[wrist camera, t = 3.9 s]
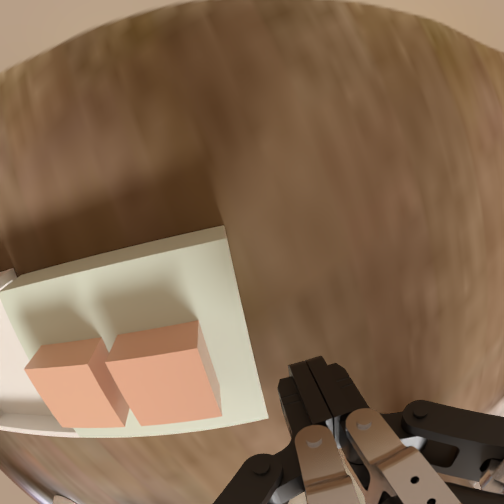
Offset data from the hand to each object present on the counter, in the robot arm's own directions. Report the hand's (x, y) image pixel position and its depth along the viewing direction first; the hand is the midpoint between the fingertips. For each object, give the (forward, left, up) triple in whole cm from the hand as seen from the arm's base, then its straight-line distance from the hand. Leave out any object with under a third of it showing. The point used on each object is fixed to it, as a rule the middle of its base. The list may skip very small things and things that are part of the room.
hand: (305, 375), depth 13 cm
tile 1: (+6, 0, -3) cm, 7 cm away
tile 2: (+12, 0, -3) cm, 13 cm away
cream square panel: (+9, 0, -6) cm, 11 cm away
